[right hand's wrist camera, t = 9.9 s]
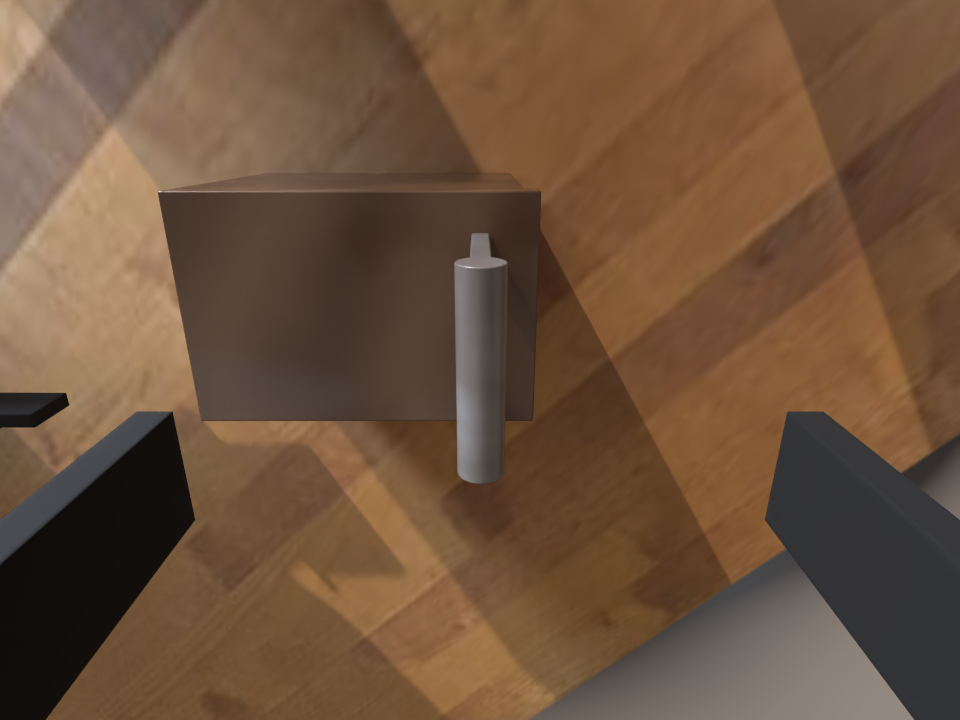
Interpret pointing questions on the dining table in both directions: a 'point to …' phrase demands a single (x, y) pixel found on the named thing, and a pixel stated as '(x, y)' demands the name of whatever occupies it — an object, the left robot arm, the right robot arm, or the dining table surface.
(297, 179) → the chest
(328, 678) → the dining table surface
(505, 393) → the lid
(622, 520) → the dining table surface
